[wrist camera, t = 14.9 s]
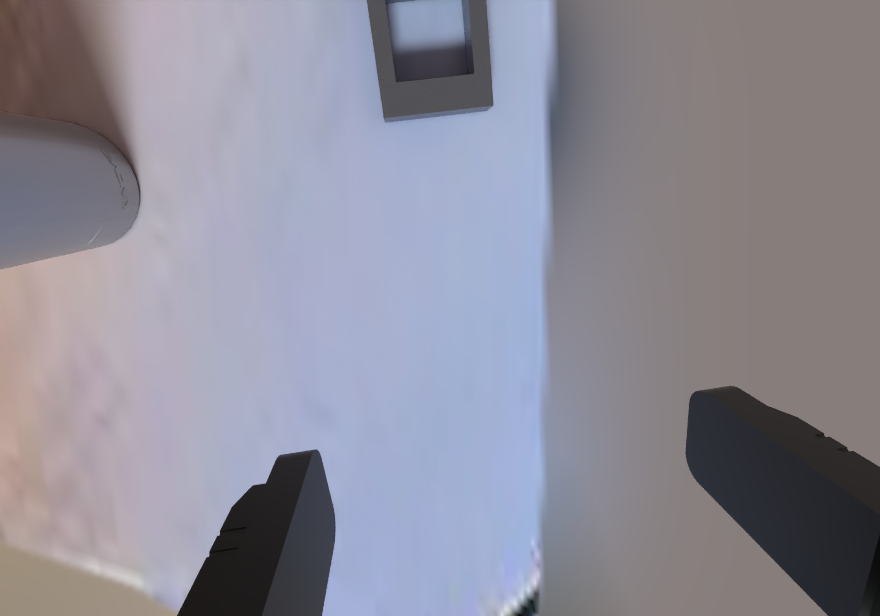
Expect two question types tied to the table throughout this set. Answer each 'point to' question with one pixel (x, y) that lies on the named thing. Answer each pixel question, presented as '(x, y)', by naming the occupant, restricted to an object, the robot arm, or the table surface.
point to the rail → (435, 92)
